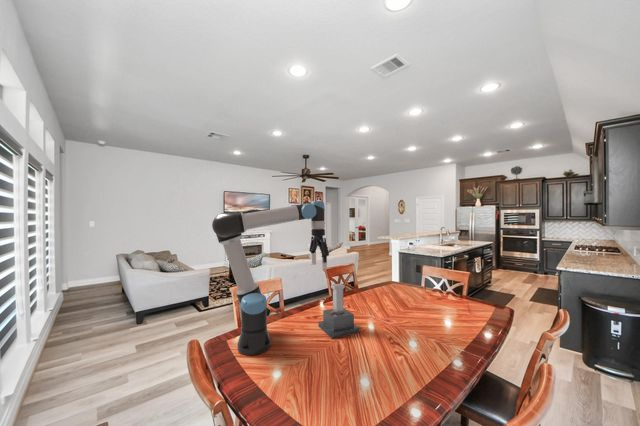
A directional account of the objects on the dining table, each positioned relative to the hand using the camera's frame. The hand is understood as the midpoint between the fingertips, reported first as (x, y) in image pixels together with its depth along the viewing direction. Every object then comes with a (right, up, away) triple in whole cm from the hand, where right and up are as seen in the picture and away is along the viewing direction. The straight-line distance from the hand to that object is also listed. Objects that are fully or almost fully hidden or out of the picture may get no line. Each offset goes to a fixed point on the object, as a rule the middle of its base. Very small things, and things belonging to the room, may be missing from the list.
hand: (318, 266), depth 148 cm
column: (+10, -32, -7) cm, 34 cm away
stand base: (+10, -32, -7) cm, 34 cm away
